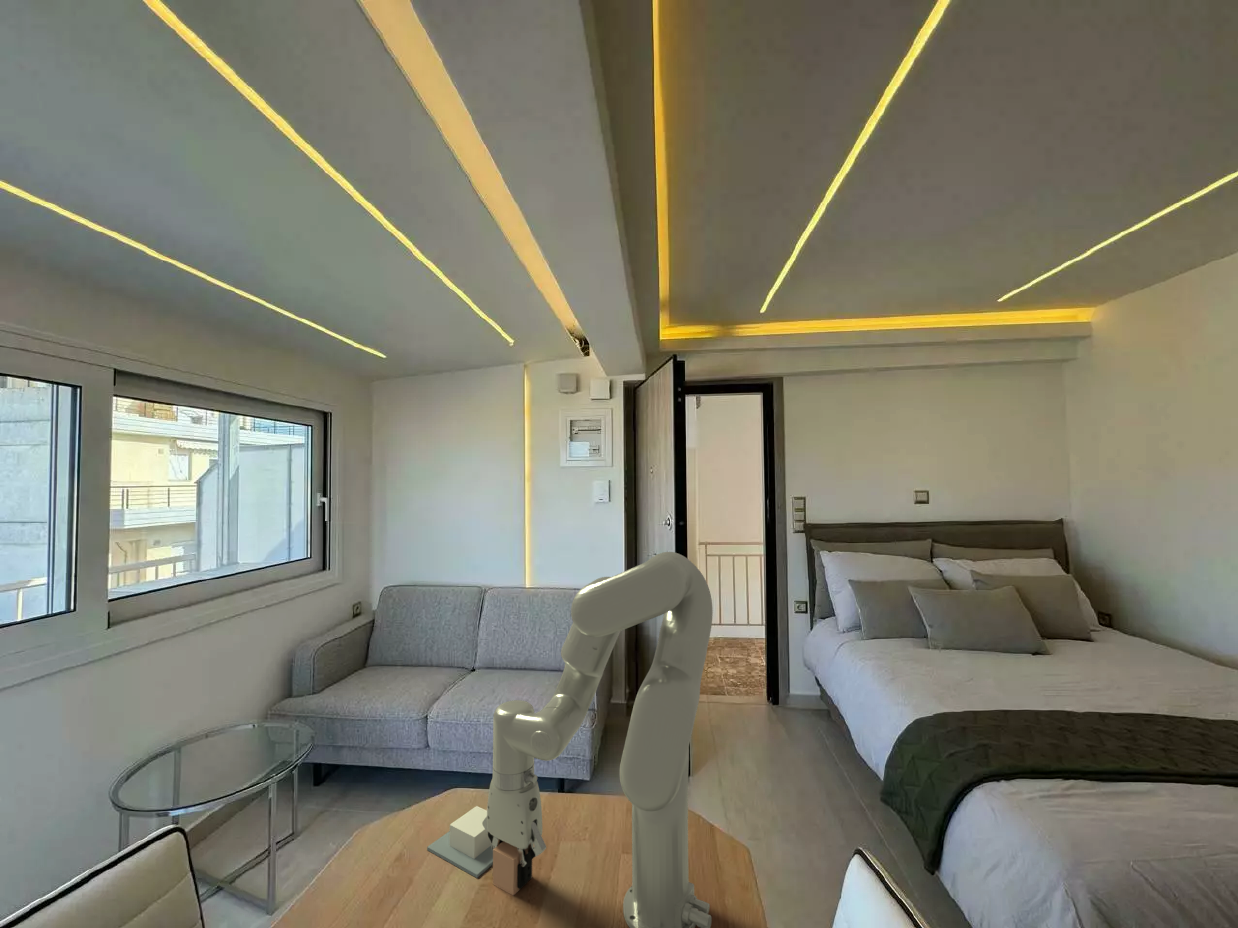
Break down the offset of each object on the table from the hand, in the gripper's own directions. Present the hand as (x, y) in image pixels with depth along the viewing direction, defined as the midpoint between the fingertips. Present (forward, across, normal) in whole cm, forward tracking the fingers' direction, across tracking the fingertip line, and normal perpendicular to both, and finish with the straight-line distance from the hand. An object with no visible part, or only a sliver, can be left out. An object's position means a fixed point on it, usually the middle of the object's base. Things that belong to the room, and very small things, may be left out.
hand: (512, 875), depth 91 cm
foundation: (+1, +13, -3) cm, 13 cm away
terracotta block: (+1, 0, 0) cm, 1 cm away
